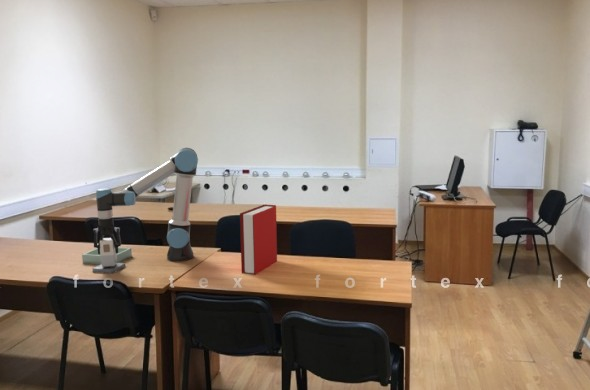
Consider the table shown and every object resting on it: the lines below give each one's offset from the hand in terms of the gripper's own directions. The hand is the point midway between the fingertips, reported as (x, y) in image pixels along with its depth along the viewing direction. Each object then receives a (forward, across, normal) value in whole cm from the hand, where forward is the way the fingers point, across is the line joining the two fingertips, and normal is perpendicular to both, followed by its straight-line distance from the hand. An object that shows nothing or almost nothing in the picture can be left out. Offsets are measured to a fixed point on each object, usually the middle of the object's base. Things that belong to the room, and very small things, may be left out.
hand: (108, 259), depth 269 cm
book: (+6, -81, +11) cm, 82 cm away
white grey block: (+3, 0, 0) cm, 3 cm away
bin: (+6, +5, -19) cm, 21 cm away
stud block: (+6, 0, 0) cm, 6 cm away
